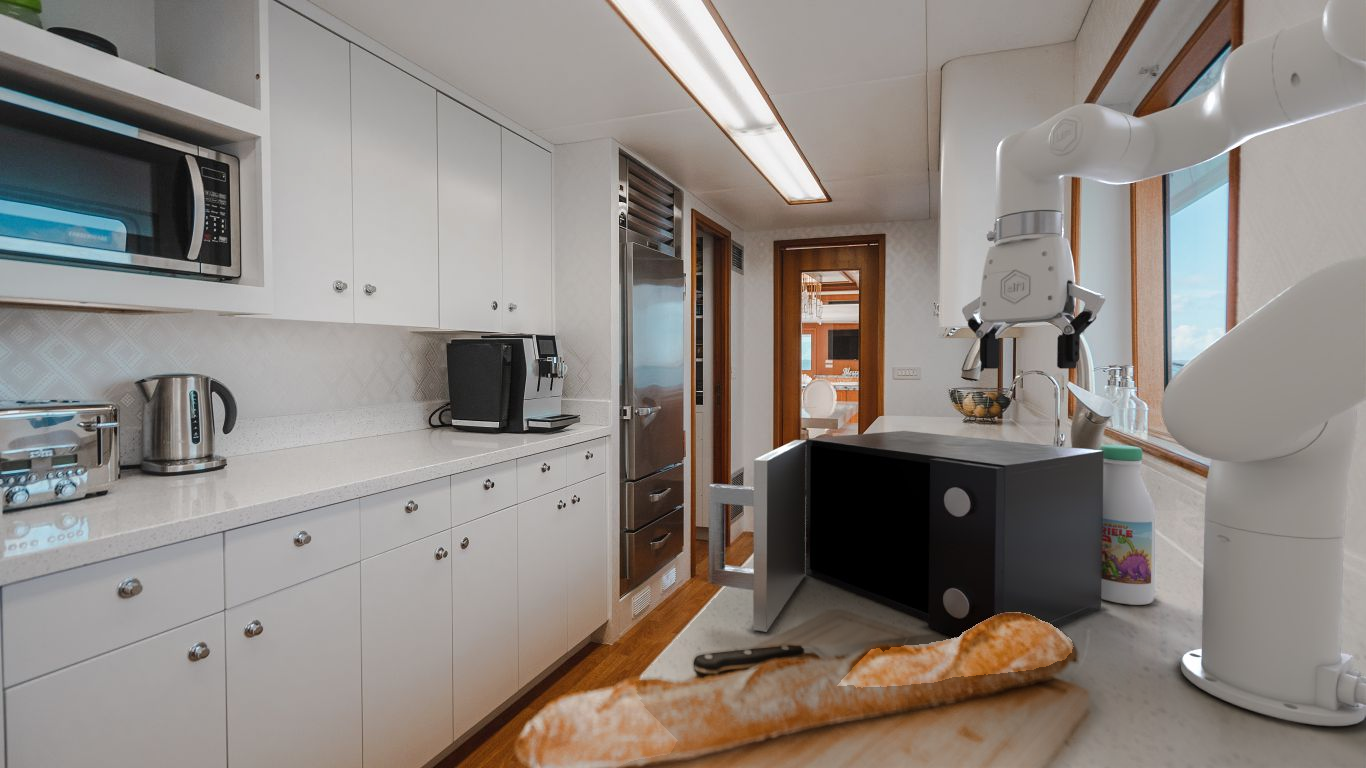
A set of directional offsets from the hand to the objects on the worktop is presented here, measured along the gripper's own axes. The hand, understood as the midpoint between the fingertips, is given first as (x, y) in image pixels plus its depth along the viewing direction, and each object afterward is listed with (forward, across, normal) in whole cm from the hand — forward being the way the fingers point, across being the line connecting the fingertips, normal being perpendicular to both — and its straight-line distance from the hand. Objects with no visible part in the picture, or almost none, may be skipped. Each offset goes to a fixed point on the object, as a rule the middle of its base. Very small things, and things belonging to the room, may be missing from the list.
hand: (1026, 368), depth 79 cm
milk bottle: (+31, +5, +14) cm, 34 cm away
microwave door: (+30, -21, -27) cm, 45 cm away
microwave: (+30, -9, -5) cm, 32 cm away
